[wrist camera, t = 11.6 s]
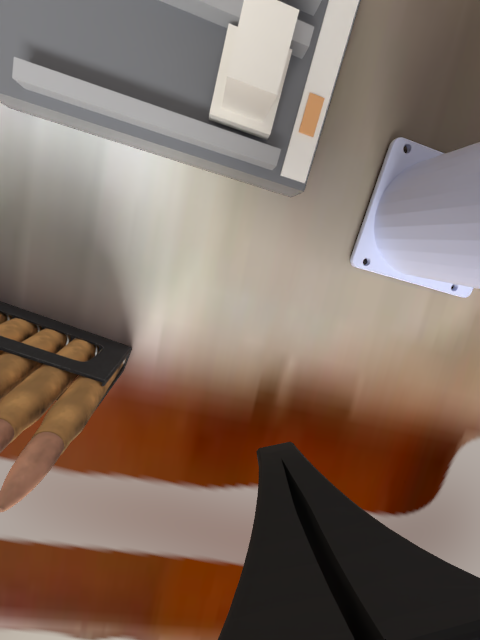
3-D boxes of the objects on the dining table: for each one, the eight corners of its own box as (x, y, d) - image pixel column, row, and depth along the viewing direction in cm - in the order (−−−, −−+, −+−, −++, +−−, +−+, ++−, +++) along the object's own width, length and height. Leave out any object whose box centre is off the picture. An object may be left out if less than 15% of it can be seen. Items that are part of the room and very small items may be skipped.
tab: (287, 59, 15) (315, 2, 11) (266, 140, 15) (286, 111, 12) (227, 34, 14) (236, -34, 10) (208, 119, 15) (211, 83, 11)
